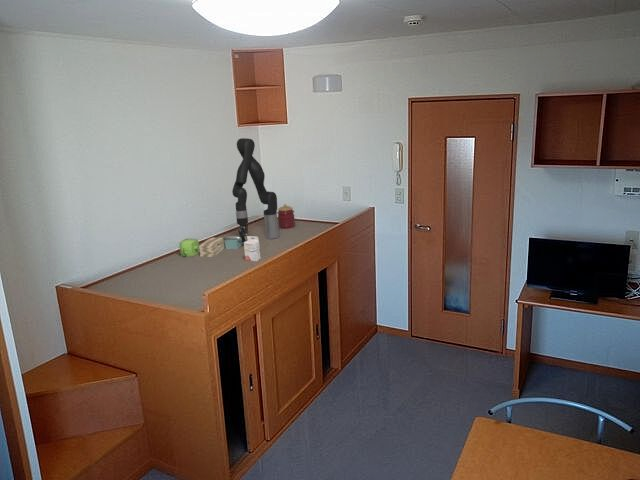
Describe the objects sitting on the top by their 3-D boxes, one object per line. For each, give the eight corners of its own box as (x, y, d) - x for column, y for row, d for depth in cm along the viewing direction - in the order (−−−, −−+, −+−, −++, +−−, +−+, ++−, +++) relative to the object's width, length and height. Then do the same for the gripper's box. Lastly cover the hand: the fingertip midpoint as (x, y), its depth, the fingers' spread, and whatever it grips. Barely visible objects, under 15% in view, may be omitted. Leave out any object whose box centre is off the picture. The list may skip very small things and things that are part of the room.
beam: (224, 248, 365) (223, 237, 363) (213, 256, 346) (212, 245, 344) (211, 248, 367) (210, 237, 365) (200, 256, 348) (199, 245, 346)
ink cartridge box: (245, 260, 333) (242, 237, 329) (249, 258, 337) (246, 235, 334) (256, 261, 329) (254, 238, 326) (261, 259, 334) (258, 236, 330)
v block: (243, 243, 373) (242, 236, 372) (237, 248, 361) (236, 241, 360) (232, 243, 375) (231, 236, 374) (225, 249, 363) (224, 241, 361)
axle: (249, 240, 367) (248, 234, 366) (247, 242, 363) (247, 236, 362) (224, 239, 370) (223, 234, 369) (222, 241, 366) (221, 236, 365)
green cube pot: (191, 259, 346) (190, 245, 344) (177, 258, 348) (176, 244, 346) (203, 250, 363) (202, 237, 360) (190, 250, 365) (188, 236, 363)
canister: (294, 228, 408) (292, 205, 404) (277, 229, 409) (275, 206, 404) (295, 224, 421) (293, 202, 416) (279, 225, 421) (277, 203, 417)
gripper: (244, 218, 354) (246, 244, 358) (250, 214, 367) (252, 238, 372) (233, 219, 355) (235, 244, 360) (239, 214, 369) (242, 239, 373)
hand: (244, 241), depth 366 cm, fingers closed on axle, 3 cm apart
